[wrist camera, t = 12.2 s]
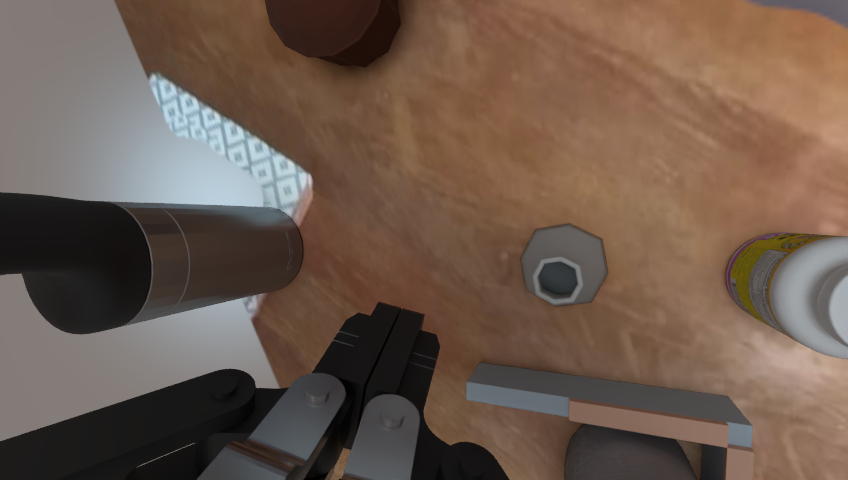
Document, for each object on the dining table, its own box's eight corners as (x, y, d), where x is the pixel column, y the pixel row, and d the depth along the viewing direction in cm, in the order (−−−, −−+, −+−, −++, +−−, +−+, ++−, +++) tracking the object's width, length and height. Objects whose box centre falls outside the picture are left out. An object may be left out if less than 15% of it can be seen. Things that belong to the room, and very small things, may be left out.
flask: (600, 314, 36) (608, 348, 27) (514, 297, 38) (493, 323, 29) (615, 229, 35) (628, 233, 26) (526, 217, 38) (509, 217, 28)
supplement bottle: (851, 252, 30) (1031, 275, 18) (805, 336, 31) (946, 410, 19) (746, 218, 32) (846, 218, 20) (706, 298, 33) (778, 343, 21)
